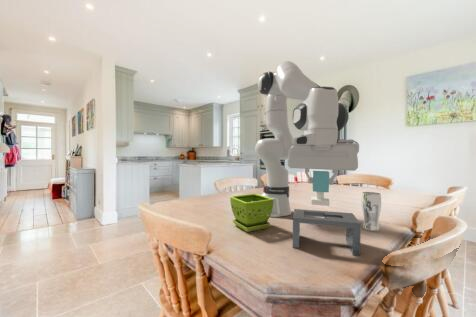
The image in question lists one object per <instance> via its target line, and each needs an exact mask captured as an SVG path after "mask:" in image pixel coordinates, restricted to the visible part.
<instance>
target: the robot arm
mask: <svg viewBox="0 0 476 317" xmlns="http://www.w3.org/2000/svg"><path fill="white" fill-rule="evenodd" d="M257 88H258V91H259V93H260V94H262V95H264V96H265V95H266V96H267V98H266V103H265V104H266V105H265V118H266V119H265V120H266V128H267V130H268V131H269V132H271V134H273V136H274V138H272V137H271V138H270V137H269V138H262V139H259V140H257V142H256V143H255V146H254V152H255V155H256V156H257V158H258V159H260V160H261V162H262V163H263V164H264V167H265V170H266V171H265V172H266V184H265V185H263V190H262V191H263V192H262V193H261V194H260V195H262V196H265V197H268V198H271V199H273V208H272V212H271V215H270V217H269V218H280V217H286V216H289V215H292V210H291V206H290V198H289V197H290V186H289V171H288V169H287V168H285V167H284V166H283V165H282V162H281V160H287V166H288V167H289V169H300V170H301V169H302V170H304V173H305V175H306V177H307V184H312V185H313V176H310V170H324V171H328V170H330V171H332V172H331V173H332V176H331V178H330V177H329V186H330V185H334V183H335V179H336V177H337V176H338V174H339V171H352V172H353V171H354V172H355V171H357V169H358V168H359V159H358V158H359V157H358V154H359V152H360V144H359V142H357V141H356V140H354V139H341V138H339V137H338V133H339V132H340V131H342V129H343V128H345V126H346V125H347V123H348V121H349V113H348V110H347V108H346V106H345V105H344V104H343V103H340V102H339V95H338V91H337V90H338V89H336V88H335V87H333V86H320V85H319V84H317V83H316V82H314V80H311V79H310V78H309V77H307V75H305V73H303V71H302V70H301V69H300V67H299V66H298V65H297V64H296V63H294V62H292V61H289V60H285V61H283V62H282V63H281V62H280V64H279V65H278V66H277V68H276V71H267V72H263V73H261V74H260V75H259V78H258V81H257ZM287 99H291V100H298V101H303V102H301V103H299V104H297V105H296V106H295V108H294V109H293V111H292V123H293V125H294V126H295V128H296V129H298V130H299V131H300V130H301V131H306V134H301V135H299V136H297V137H293V135H292V133H291V131H290V127H289V120H288V118H289V117H288V104H287Z"/></svg>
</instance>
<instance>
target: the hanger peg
mask: <svg viewBox="0 0 476 317" xmlns="http://www.w3.org/2000/svg"><path fill="white" fill-rule="evenodd" d="M312 177H313V184H312V188H311V189H312V192H315V193H316V196H312V195H311V199H310V200H311V205H313V206H325V207H329V206H330V199H329V197H327V196H326V197H325V193H330V192H329V191H330V190H329V189H330V185H329V178H330V171H328V170H312Z"/></svg>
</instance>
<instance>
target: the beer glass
mask: <svg viewBox="0 0 476 317" xmlns="http://www.w3.org/2000/svg"><path fill="white" fill-rule="evenodd" d="M381 194H382V193H381V192H376V191H375V192H374V191H362V194H361V209H362V210H361V211H362V216H363V224H362V230H364V231H368V232H375V233H376V232H377V233H378V232H380V224H379V223H380V222H379V219H380V214H381V212H382V211H381V210H382V195H381Z"/></svg>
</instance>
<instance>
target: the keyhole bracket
mask: <svg viewBox="0 0 476 317" xmlns="http://www.w3.org/2000/svg"><path fill="white" fill-rule="evenodd" d="M301 224H307V225H308V224H309V225H319V226H320V225H322V226H331V227H341V228H345V242H346V243H347V246H348V248H349V250H350V253H351V254H352V256H357V257H361V222H360V221H359V220H358V219H357V217H356V216H355V215H354V213H352V212H339V211H328V210H327V211H326V210H325V211H324V210H314V209H299V208H294V210H293V216H292V249H300V238H301V237H300V236H301V232H300V231H301Z"/></svg>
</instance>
